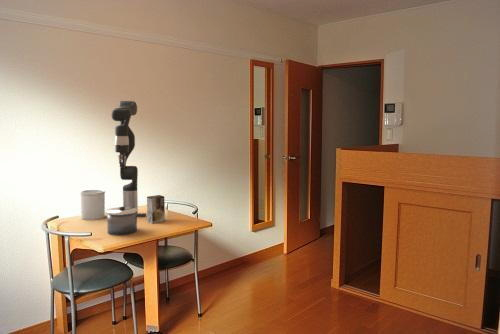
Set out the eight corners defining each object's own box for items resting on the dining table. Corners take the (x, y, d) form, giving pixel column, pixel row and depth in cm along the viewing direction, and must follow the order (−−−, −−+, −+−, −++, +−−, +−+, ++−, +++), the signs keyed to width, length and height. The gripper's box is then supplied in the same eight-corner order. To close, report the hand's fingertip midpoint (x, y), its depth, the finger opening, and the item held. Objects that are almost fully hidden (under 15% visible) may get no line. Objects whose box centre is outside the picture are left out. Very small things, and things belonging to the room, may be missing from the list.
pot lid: (107, 209, 228) (107, 204, 228) (138, 208, 232) (138, 203, 232) (104, 215, 211) (104, 210, 211) (137, 214, 215) (137, 209, 215)
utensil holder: (108, 218, 252) (107, 191, 250) (83, 221, 244) (82, 193, 242) (102, 213, 264) (101, 188, 262) (78, 216, 256) (78, 190, 254)
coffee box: (159, 219, 252) (159, 194, 250) (165, 221, 248) (164, 196, 246) (146, 221, 246) (146, 196, 244) (152, 223, 241) (152, 197, 239)
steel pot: (108, 228, 228) (108, 209, 227) (146, 226, 234) (145, 208, 232) (106, 236, 213) (105, 216, 212) (146, 234, 218) (146, 214, 217)
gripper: (115, 142, 230) (116, 172, 232) (114, 144, 217) (115, 175, 220) (129, 142, 232) (129, 171, 234) (128, 144, 219) (128, 175, 222)
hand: (122, 173), depth 227 cm, fingers closed
